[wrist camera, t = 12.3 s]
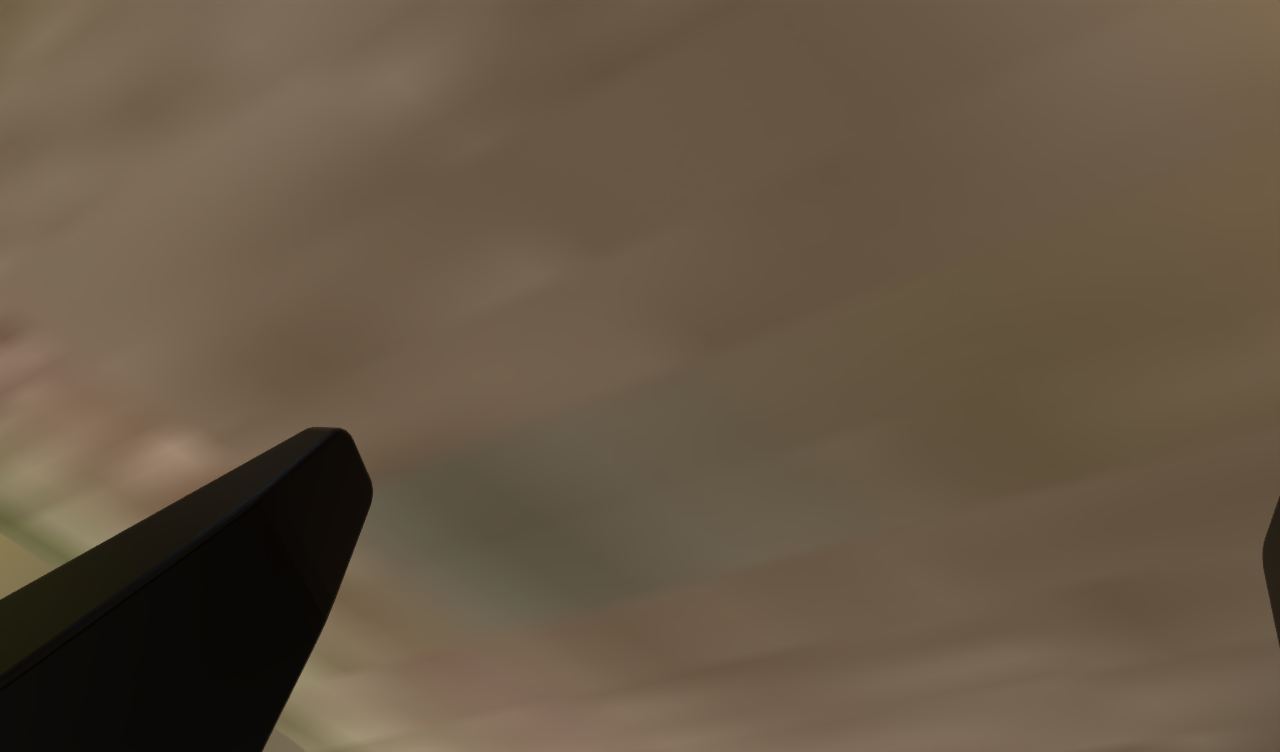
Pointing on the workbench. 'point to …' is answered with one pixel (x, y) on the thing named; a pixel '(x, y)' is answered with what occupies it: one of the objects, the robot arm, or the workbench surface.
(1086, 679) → the workbench surface
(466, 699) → the workbench surface
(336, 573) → the robot arm
